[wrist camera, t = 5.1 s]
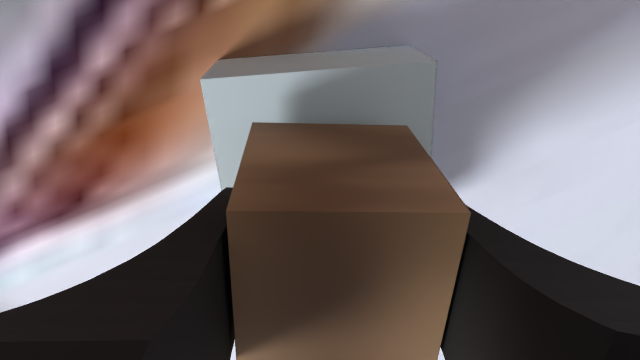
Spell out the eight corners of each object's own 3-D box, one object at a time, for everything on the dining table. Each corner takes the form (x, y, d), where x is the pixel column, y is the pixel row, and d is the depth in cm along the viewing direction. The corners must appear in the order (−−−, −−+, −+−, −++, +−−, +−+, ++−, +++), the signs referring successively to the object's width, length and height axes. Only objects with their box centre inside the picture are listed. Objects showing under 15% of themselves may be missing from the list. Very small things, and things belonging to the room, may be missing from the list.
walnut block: (407, 125, 12) (471, 212, 8) (389, 251, 14) (432, 379, 10) (252, 122, 12) (225, 211, 7) (256, 251, 14) (237, 383, 9)
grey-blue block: (408, 43, 16) (436, 60, 12) (403, 206, 19) (425, 253, 15) (219, 58, 15) (200, 79, 12) (246, 219, 18) (236, 270, 15)
